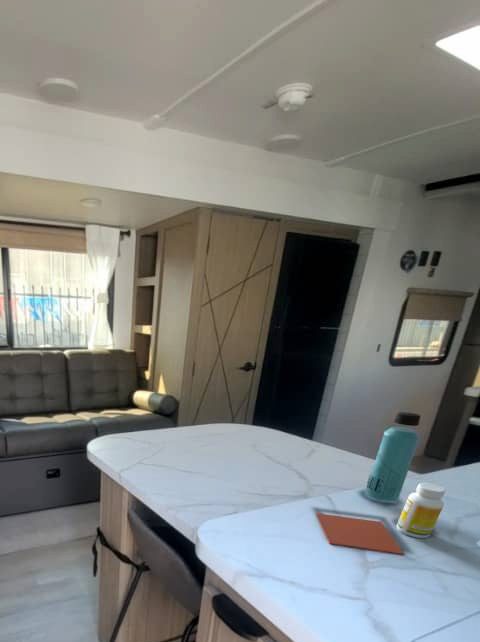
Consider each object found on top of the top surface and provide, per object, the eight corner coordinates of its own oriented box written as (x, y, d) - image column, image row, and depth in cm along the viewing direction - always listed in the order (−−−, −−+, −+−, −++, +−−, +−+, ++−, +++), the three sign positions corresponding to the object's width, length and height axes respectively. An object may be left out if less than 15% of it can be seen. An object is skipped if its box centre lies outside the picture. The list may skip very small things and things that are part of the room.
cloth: (380, 522, 82) (380, 521, 81) (404, 555, 71) (404, 553, 71) (315, 514, 84) (316, 512, 84) (329, 544, 74) (329, 542, 74)
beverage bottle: (401, 503, 90) (435, 414, 81) (387, 510, 86) (421, 418, 78) (370, 493, 94) (399, 407, 86) (355, 499, 91) (384, 411, 83)
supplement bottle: (389, 526, 80) (406, 482, 76) (409, 523, 82) (427, 479, 78) (416, 540, 76) (436, 494, 71) (436, 536, 77) (457, 491, 73)
